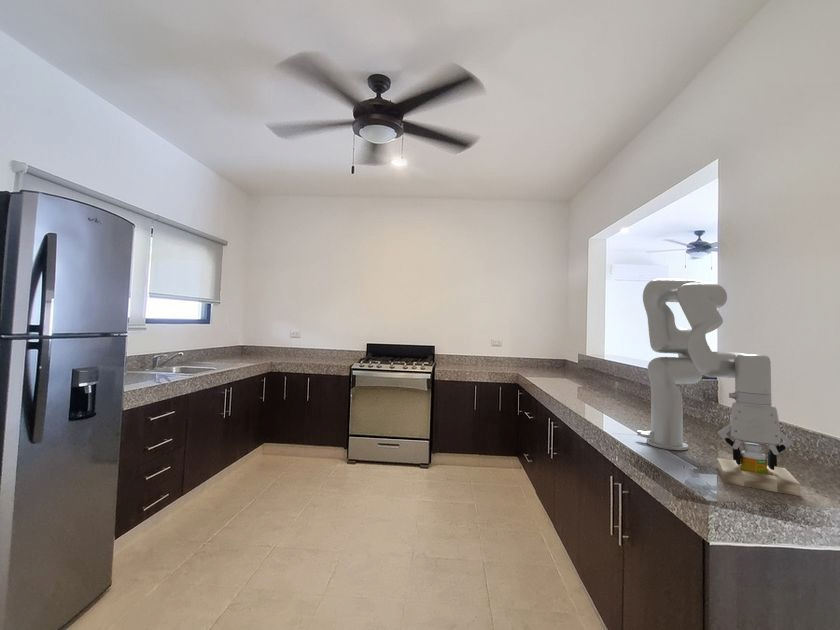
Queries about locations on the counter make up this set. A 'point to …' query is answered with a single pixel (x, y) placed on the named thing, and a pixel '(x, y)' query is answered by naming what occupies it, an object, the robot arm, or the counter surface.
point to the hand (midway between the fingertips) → (754, 465)
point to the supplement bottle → (753, 459)
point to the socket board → (758, 478)
